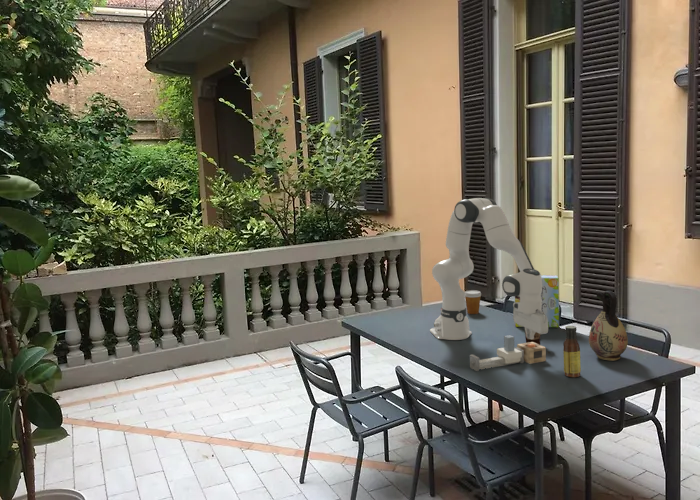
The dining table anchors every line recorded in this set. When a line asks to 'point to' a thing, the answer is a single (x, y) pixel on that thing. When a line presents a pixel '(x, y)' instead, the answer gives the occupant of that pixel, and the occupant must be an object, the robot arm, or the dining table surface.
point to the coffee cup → (536, 338)
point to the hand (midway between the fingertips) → (530, 338)
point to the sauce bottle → (571, 353)
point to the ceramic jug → (608, 330)
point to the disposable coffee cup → (472, 301)
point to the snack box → (548, 299)
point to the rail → (491, 361)
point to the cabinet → (533, 352)
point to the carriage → (509, 350)
